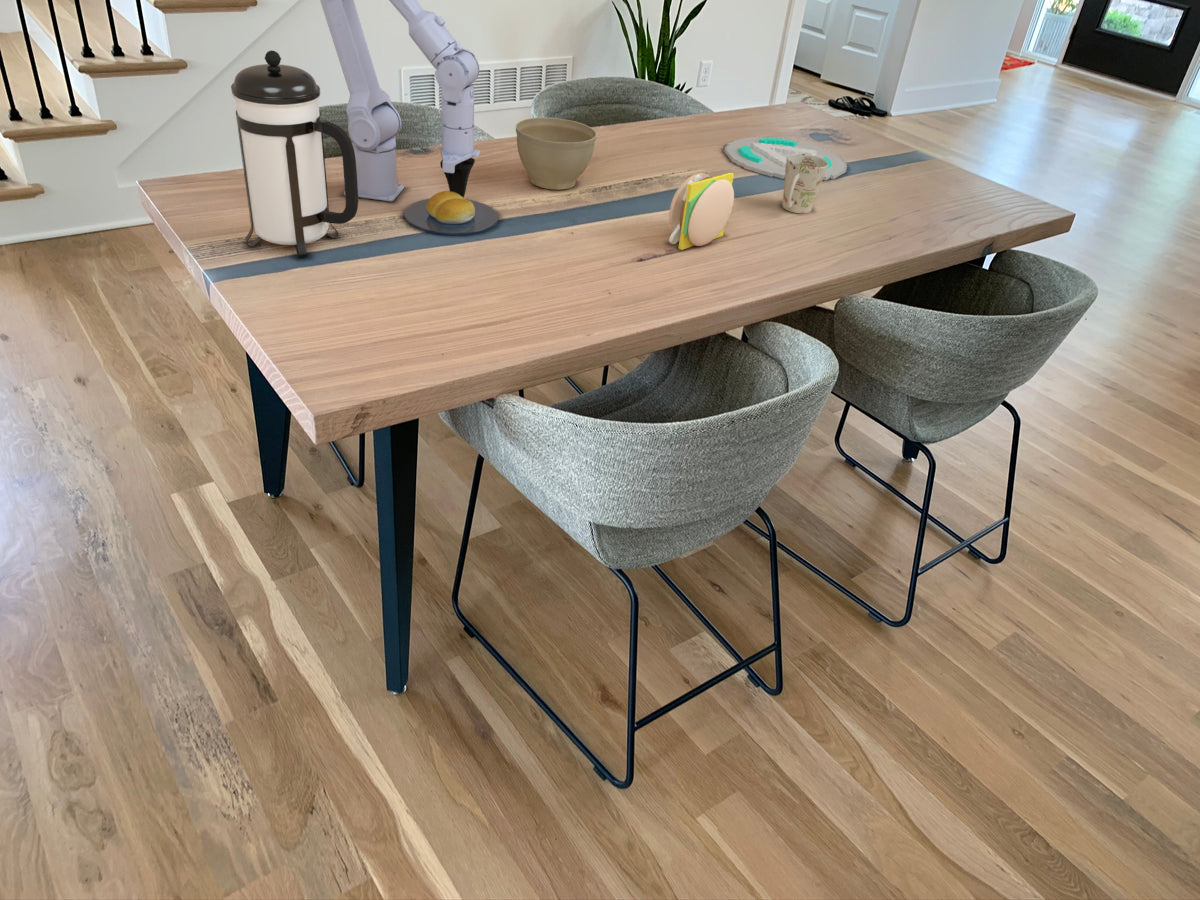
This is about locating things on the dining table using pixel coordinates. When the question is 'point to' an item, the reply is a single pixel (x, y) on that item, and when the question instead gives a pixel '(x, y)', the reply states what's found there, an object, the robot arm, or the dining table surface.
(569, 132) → the planter bowl
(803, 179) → the mug
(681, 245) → the hamburger
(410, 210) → the plate
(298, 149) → the coffee press
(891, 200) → the dining table surface
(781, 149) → the grey flat disc
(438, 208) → the bread roll
